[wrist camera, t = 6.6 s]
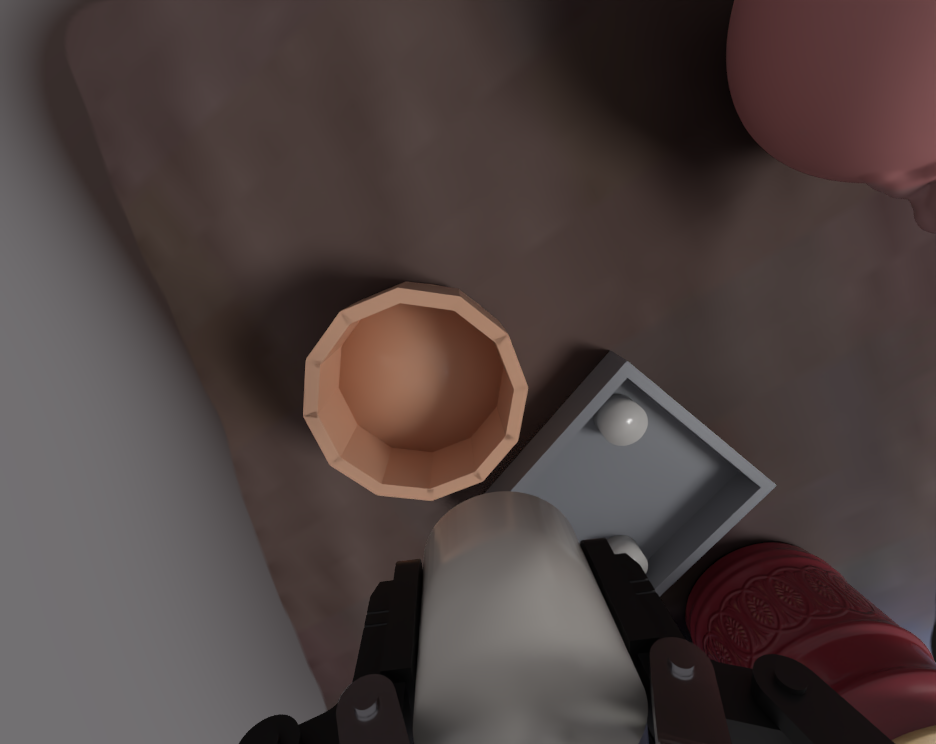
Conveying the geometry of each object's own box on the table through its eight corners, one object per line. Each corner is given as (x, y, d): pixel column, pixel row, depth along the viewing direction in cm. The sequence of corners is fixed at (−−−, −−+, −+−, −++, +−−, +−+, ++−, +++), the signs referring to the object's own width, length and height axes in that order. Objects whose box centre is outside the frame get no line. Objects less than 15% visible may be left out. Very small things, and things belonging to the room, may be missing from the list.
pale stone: (609, 546, 14) (696, 706, 9) (508, 643, 15) (538, 832, 10) (493, 461, 13) (522, 592, 8) (391, 571, 14) (363, 747, 9)
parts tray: (748, 465, 33) (776, 485, 31) (616, 593, 36) (631, 623, 33) (610, 350, 30) (627, 360, 28) (478, 500, 33) (481, 524, 30)
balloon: (685, 292, 30) (922, 333, 15) (658, -61, 24) (993, -554, 9) (907, 242, 29) (1373, 234, 15) (931, -125, 24) (1716, -736, 9)
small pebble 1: (645, 415, 31) (657, 425, 30) (610, 443, 32) (620, 454, 30) (619, 384, 31) (629, 393, 29) (584, 414, 31) (592, 424, 29)
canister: (699, 678, 39) (889, 1001, 22) (664, 569, 36) (857, 855, 19) (838, 631, 39) (1144, 929, 22) (816, 515, 35) (1160, 763, 18)
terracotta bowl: (547, 358, 30) (569, 382, 25) (438, 485, 33) (437, 533, 27) (401, 242, 28) (390, 241, 22) (295, 390, 30) (261, 421, 25)
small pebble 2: (646, 552, 35) (656, 568, 33) (615, 575, 35) (623, 592, 33) (621, 527, 34) (630, 542, 32) (590, 552, 34) (597, 567, 33)
